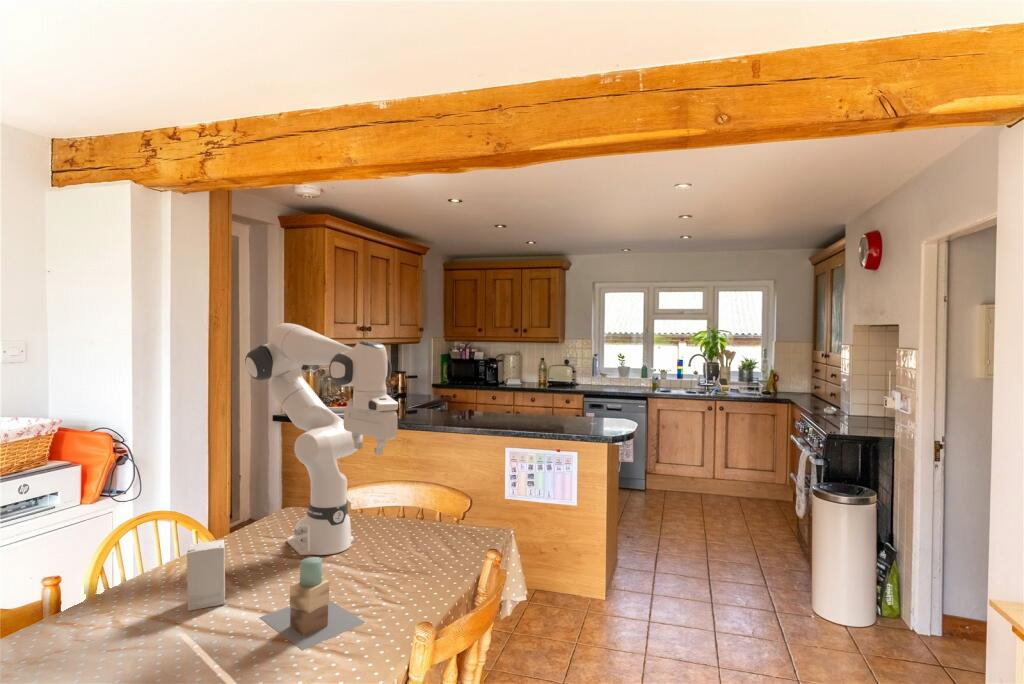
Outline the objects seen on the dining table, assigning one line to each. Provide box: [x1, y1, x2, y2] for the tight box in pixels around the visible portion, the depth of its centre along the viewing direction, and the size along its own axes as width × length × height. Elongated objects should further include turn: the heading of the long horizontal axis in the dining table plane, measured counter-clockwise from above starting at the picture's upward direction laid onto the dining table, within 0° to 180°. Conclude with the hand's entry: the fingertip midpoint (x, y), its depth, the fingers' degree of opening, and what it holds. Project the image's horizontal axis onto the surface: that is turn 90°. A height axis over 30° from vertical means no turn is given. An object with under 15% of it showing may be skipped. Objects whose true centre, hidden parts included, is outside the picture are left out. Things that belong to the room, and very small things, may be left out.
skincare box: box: [186, 539, 226, 612], centre depth 138 cm, size 8×6×15 cm
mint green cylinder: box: [299, 556, 323, 587], centre depth 127 cm, size 5×5×5 cm
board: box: [258, 599, 367, 651], centre depth 130 cm, size 20×16×1 cm
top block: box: [289, 578, 330, 613], centre depth 127 cm, size 6×6×5 cm
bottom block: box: [290, 603, 328, 636], centre depth 127 cm, size 6×6×5 cm
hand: (368, 451), depth 150 cm, fingers open, 8 cm apart
